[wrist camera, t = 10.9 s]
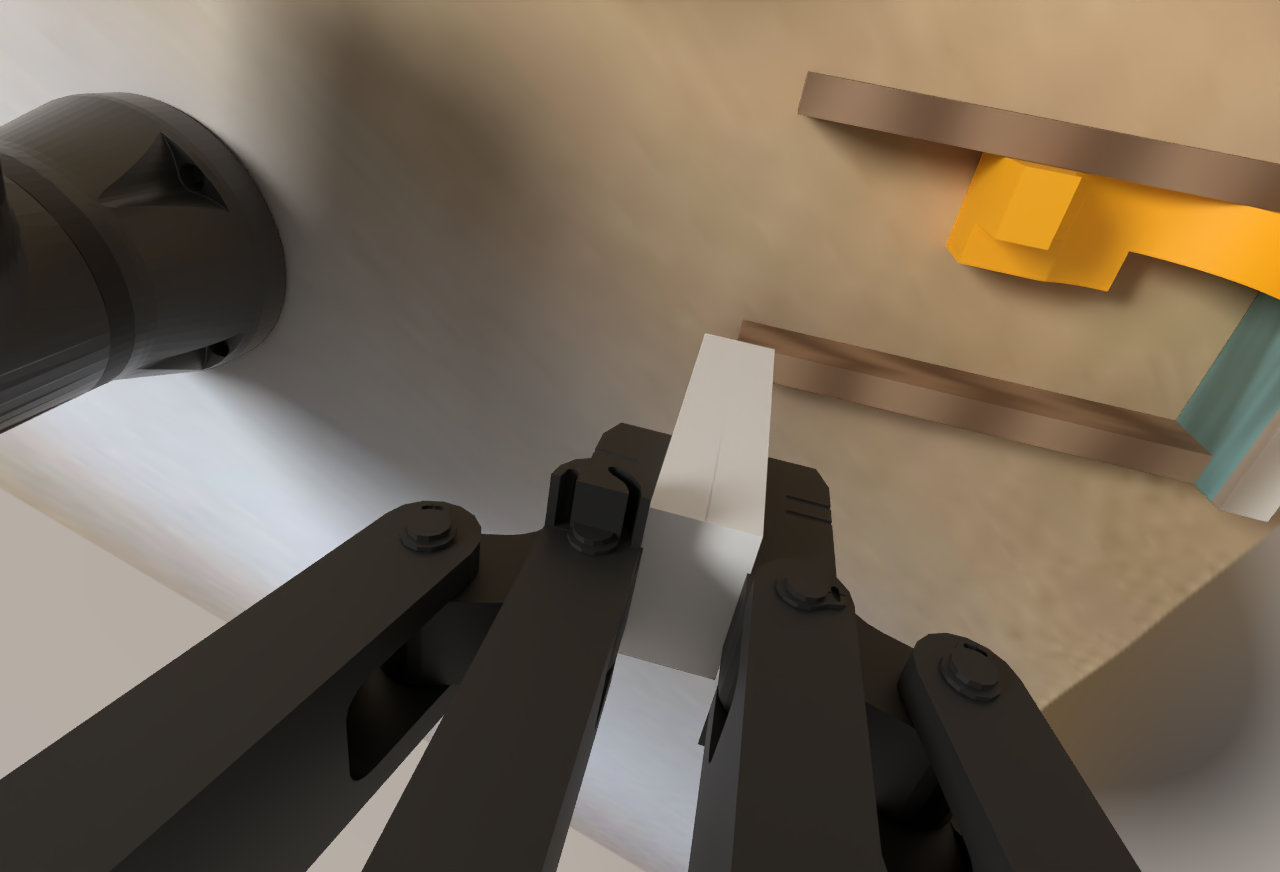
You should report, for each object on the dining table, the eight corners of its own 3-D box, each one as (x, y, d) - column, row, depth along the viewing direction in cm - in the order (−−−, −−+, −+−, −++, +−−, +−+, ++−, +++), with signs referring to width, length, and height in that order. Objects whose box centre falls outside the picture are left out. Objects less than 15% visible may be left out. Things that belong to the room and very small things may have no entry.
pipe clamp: (944, 245, 32) (975, 284, 26) (983, 147, 30) (1025, 166, 24) (1213, 303, 31) (1304, 356, 25) (1274, 205, 29) (1388, 239, 23)
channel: (736, 346, 36) (726, 390, 31) (807, 71, 30) (809, 72, 25) (1201, 456, 34) (1267, 521, 29) (1388, 185, 27) (1513, 211, 23)
